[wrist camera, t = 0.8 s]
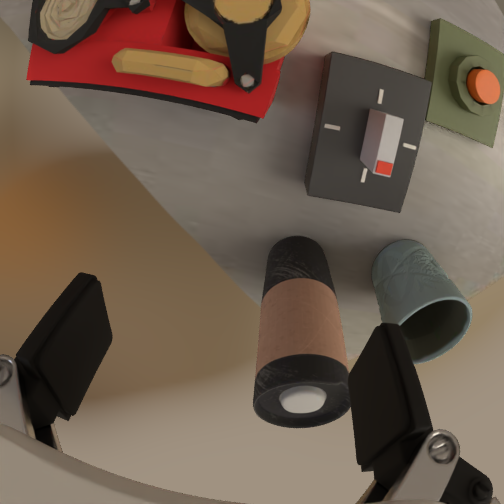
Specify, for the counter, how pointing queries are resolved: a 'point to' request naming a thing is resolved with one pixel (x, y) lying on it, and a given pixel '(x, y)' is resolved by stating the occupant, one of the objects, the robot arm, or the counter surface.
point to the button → (483, 86)
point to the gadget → (363, 131)
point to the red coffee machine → (168, 49)
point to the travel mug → (300, 340)
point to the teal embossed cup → (419, 300)
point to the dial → (381, 142)
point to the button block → (461, 82)
